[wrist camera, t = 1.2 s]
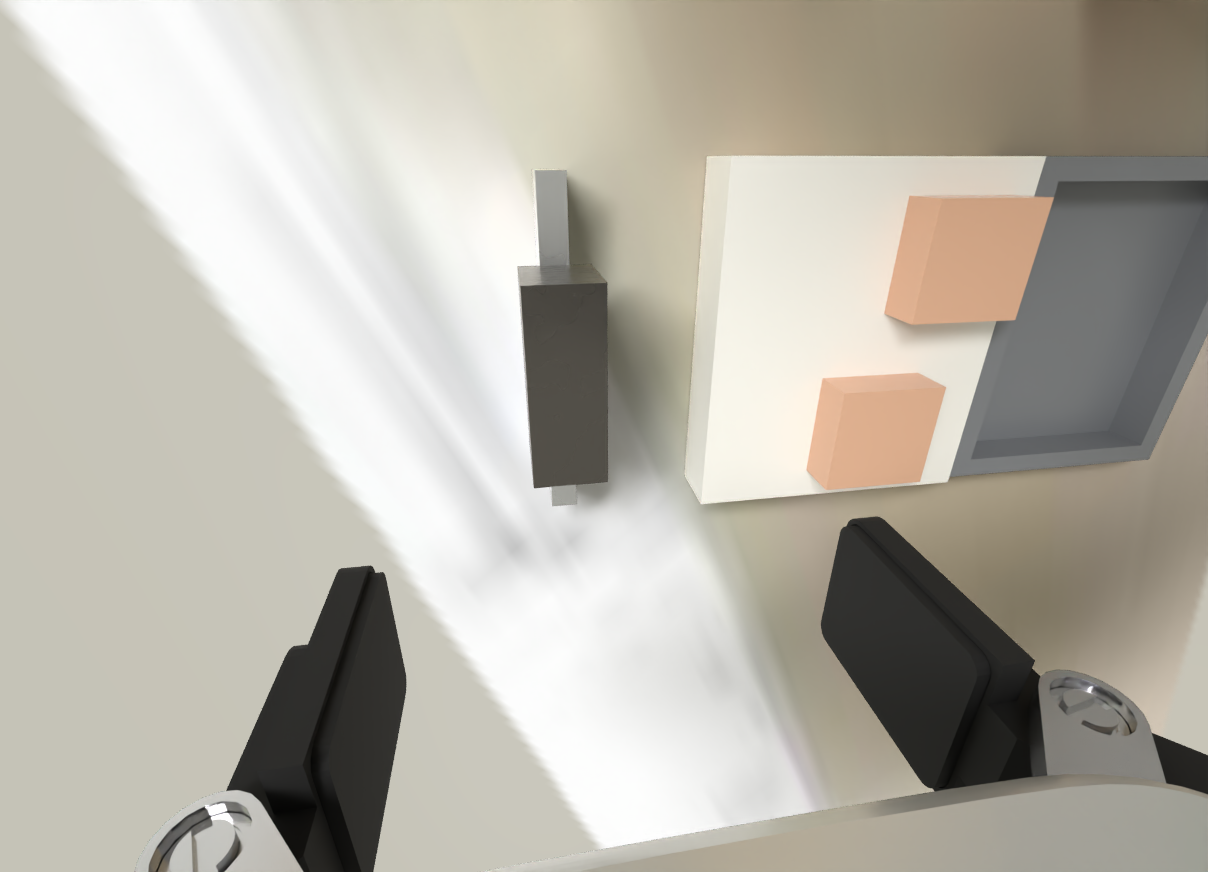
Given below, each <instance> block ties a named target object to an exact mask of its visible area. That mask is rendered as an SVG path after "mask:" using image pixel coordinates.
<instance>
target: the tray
mask: <svg viewBox="0 0 1208 872" xmlns="http://www.w3.org/2000/svg"><path fill="white" fill-rule="evenodd" d="M1034 196H1042V197H1054V199H1053V202H1052V205H1051V209H1050V212H1049V215H1048V218H1047V221H1046V224H1045V228H1044V231H1043V234H1042V237H1041V240H1040V243H1039V246H1038V250H1037V253H1036V256H1035V259H1034V262H1033V265H1032V269H1031V272H1030V275H1029V278H1028V281H1027V284H1026V288H1025V291H1024V294H1023V297H1022V300H1021V303H1020V306H1019V310H1018V313H1017V316H1016V319H1015V320H1006V321H996V324H995V327H994V331H993V334H992V337H991V341H990V344H989V347H988V351H987V354H986V357H985V361H984V364H983V367H982V370H981V374H980V377H979V380H978V384H977V387H976V390H975V394H974V397H973V400H972V404H971V407H970V410H969V413H968V417H967V420H966V423H965V427H964V430H963V433H962V437H961V440H960V443H959V446H958V450H957V453H956V456H955V460H954V463H953V466H952V470H951V473H950V476H949V477H954V476H965V475H977V474H988V473H1000V472H1011V471H1022V470H1034V469H1045V468H1057V467H1068V466H1079V465H1091V464H1102V463H1113V462H1125V461H1136V460H1148V459H1149V458H1150V456H1151V453H1152V451H1153V449H1154V447H1155V445H1156V443H1157V441H1158V439H1159V436H1160V434H1161V432H1162V430H1163V428H1164V426H1165V424H1166V422H1167V419H1168V417H1169V415H1170V413H1171V411H1172V409H1173V407H1174V405H1175V402H1176V400H1177V398H1178V396H1179V394H1180V392H1181V390H1182V387H1183V385H1184V383H1185V381H1186V379H1187V377H1188V375H1189V373H1190V370H1191V368H1192V366H1193V364H1194V362H1195V360H1196V358H1197V356H1198V353H1199V351H1200V349H1201V347H1202V345H1203V343H1204V341H1205V339H1206V336H1207V334H1208V156H1046V159H1045V162H1044V165H1043V169H1042V172H1041V175H1040V179H1039V182H1038V185H1037V189H1036V192H1035V195H1034Z"/></svg>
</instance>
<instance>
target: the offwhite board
mask: <svg viewBox="0 0 1208 872" xmlns="http://www.w3.org/2000/svg"><path fill="white" fill-rule="evenodd" d="M1045 159H1046V156H707V162H706V176H705V190H704V204H703V219H702V233H701V247H700V261H699V275H698V290H697V304H696V318H695V332H694V346H693V361H692V375H691V389H690V403H689V417H688V431H687V446H686V460H685V474H684V476H685V477H686V479H687V481H688V482H689V484H690V486H691V488H692V489H693V491H694V493H695V495H696V496H697V498H698V500H699V501H700V503H701V504H708V503H719V502H730V501H742V500H753V499H764V498H775V497H786V496H798V495H809V494H820V493H831V492H843V491H854V490H865V489H876V488H887V487H899V486H910V485H921V484H932V483H943V482H948V480H949V476H950V473H951V470H952V466H953V463H954V460H955V456H956V453H957V450H958V446H959V443H960V440H961V437H962V433H963V430H964V427H965V423H966V420H967V417H968V413H969V410H970V407H971V404H972V400H973V397H974V394H975V390H976V387H977V384H978V380H979V377H980V374H981V370H982V367H983V364H984V361H985V357H986V354H987V351H988V347H989V344H990V341H991V337H992V334H993V331H994V327H995V324H996V321H984V322H962V323H940V324H918V325H911V324H909V323H906V322H904V321H901V320H899V319H896V318H894V317H891V316H889V315H886V314H884V312H885V307H886V303H887V298H888V293H889V289H890V284H891V279H892V275H893V270H894V265H895V261H896V256H897V251H898V247H899V242H900V237H901V233H902V228H903V223H904V219H905V214H906V209H907V205H908V200H909V196H925V195H1027V196H1034V195H1035V192H1036V189H1037V185H1038V182H1039V179H1040V175H1041V172H1042V169H1043V165H1044V162H1045ZM904 373H920V374H922V375H923V376H925V377H927V378H929V379H931V380H933V381H935V382H937V383H939V384H941V385H943V386H945V387H946V390H945V394H944V397H943V401H942V404H941V408H940V412H939V415H938V419H937V422H936V426H935V430H934V433H933V437H932V440H931V444H930V448H929V451H928V455H927V458H926V462H925V466H924V469H923V473H922V476H921V480H920V482H912V483H901V484H890V485H878V486H867V487H856V488H844V489H833V490H825V489H824V488H823V487H822V486H821V485H820V484H819V483H818V482H817V481H816V480H815V479H814V478H813V476H812V475H811V474H810V473H809V472H808V471H807V470H806V469H807V463H808V458H809V452H810V446H811V441H812V435H813V429H814V424H815V418H816V412H817V407H818V401H819V395H820V389H821V384H822V378H836V377H853V376H870V375H887V374H904Z"/></svg>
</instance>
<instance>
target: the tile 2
mask: <svg viewBox="0 0 1208 872" xmlns="http://www.w3.org/2000/svg"><path fill="white" fill-rule="evenodd" d="M1053 199H1054V197H1042V196H1027V195H925V196H909V200H908V205H907V209H906V214H905V219H904V223H903V228H902V233H901V237H900V242H899V247H898V251H897V256H896V261H895V265H894V270H893V275H892V279H891V284H890V289H889V293H888V298H887V303H886V307H885V312H884V314H886V315H889V316H891V317H894V318H896V319H899V320H901V321H904V322H906V323H909V324H911V325H918V324H940V323H962V322H984V321H1006V320H1015V319H1016V316H1017V313H1018V310H1019V306H1020V303H1021V300H1022V297H1023V294H1024V291H1025V288H1026V284H1027V281H1028V278H1029V275H1030V272H1031V269H1032V265H1033V262H1034V259H1035V256H1036V253H1037V250H1038V246H1039V243H1040V240H1041V237H1042V234H1043V231H1044V228H1045V224H1046V221H1047V218H1048V215H1049V212H1050V209H1051V205H1052V202H1053Z"/></svg>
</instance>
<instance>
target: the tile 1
mask: <svg viewBox="0 0 1208 872" xmlns="http://www.w3.org/2000/svg"><path fill="white" fill-rule="evenodd" d="M945 390H946V387H945V386H943V385H941V384H939V383H937V382H935V381H933V380H931V379H929V378H927V377H925V376H923V375H922V374H920V373H904V374H887V375H870V376H853V377H836V378H822V384H821V389H820V395H819V401H818V407H817V412H816V418H815V424H814V429H813V435H812V441H811V446H810V452H809V458H808V463H807V469H806V470H807V471H808V472H809V473H810V474H811V475H812V476H813V478H814V479H815V480H816V481H817V482H818V483H819V484H820V485H821V486H822V487H823V488H824V489H825V490H833V489H844V488H856V487H867V486H878V485H890V484H901V483H912V482H920V480H921V476H922V473H923V469H924V466H925V462H926V458H927V455H928V451H929V448H930V444H931V440H932V437H933V433H934V430H935V426H936V422H937V419H938V415H939V412H940V408H941V404H942V401H943V397H944V394H945Z"/></svg>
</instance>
